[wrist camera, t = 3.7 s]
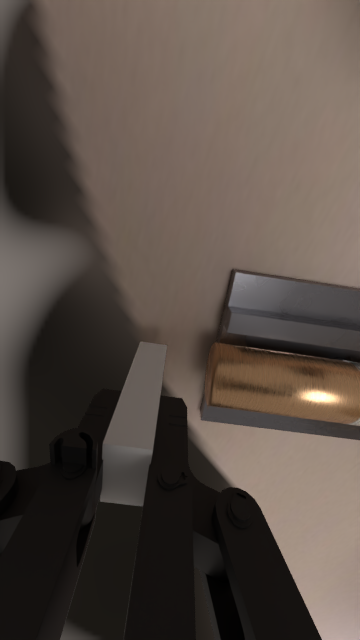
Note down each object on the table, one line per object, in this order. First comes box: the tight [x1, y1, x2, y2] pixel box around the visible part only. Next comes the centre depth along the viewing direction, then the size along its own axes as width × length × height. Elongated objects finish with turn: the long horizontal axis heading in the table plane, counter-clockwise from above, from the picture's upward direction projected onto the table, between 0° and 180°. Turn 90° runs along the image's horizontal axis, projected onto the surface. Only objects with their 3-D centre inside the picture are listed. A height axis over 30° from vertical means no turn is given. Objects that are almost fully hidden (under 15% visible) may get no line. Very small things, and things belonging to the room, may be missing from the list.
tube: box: [205, 343, 360, 426], centre depth 14 cm, size 4×15×4 cm, turn 82°
